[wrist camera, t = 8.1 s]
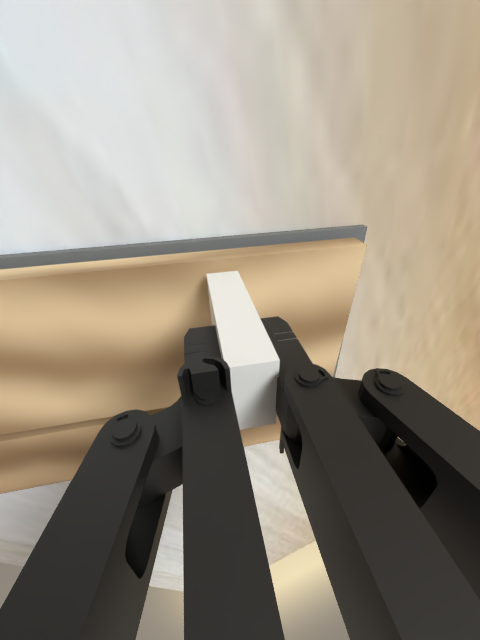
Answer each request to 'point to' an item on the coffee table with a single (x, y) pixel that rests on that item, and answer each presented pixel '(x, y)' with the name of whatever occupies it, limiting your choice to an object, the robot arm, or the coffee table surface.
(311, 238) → the underlay
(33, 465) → the laid plank
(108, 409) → the board
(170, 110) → the coffee table surface
